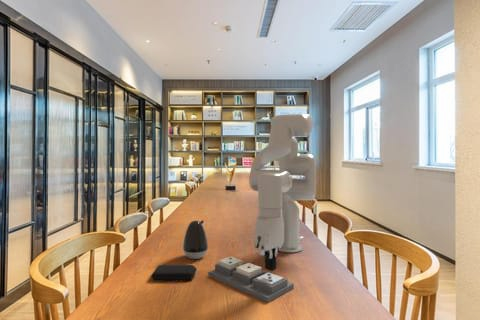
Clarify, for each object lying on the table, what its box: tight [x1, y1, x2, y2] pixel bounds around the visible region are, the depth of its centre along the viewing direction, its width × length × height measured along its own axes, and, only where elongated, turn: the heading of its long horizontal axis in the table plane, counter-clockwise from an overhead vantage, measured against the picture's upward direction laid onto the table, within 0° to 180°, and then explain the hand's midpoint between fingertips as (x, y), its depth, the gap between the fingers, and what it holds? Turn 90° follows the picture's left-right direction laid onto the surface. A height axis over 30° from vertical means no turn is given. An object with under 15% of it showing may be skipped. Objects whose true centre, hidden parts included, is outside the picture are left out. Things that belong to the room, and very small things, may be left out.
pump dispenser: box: [182, 220, 209, 260], centre depth 126 cm, size 10×10×15 cm
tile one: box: [236, 262, 263, 277], centre depth 102 cm, size 6×6×2 cm
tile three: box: [257, 272, 284, 286], centre depth 96 cm, size 6×6×2 cm
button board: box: [208, 262, 295, 303], centre depth 102 cm, size 13×27×4 cm, turn 45°
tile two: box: [218, 256, 243, 269], centre depth 109 cm, size 6×6×2 cm
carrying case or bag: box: [150, 264, 197, 282], centre depth 108 cm, size 11×3×15 cm
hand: (270, 268), depth 97 cm, fingers closed
